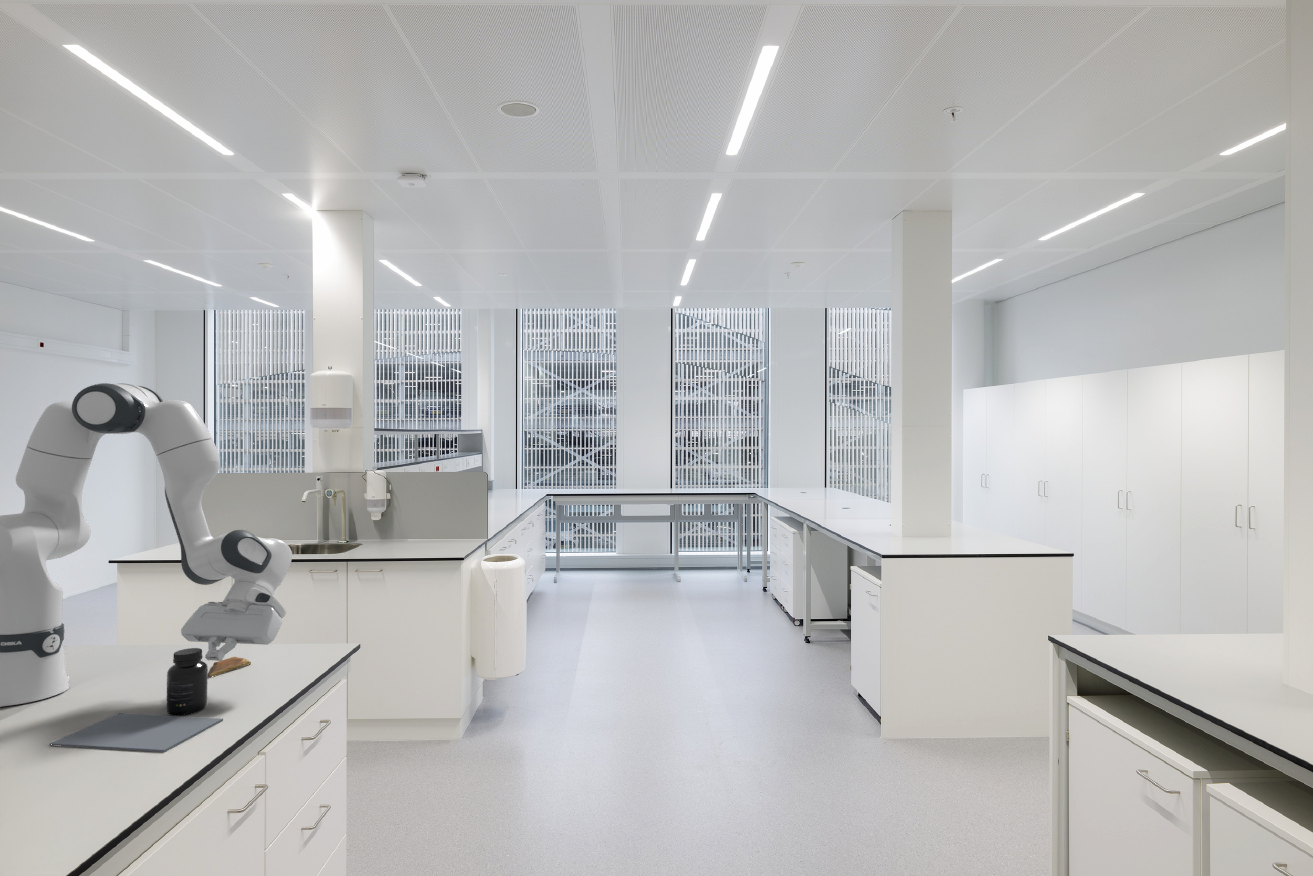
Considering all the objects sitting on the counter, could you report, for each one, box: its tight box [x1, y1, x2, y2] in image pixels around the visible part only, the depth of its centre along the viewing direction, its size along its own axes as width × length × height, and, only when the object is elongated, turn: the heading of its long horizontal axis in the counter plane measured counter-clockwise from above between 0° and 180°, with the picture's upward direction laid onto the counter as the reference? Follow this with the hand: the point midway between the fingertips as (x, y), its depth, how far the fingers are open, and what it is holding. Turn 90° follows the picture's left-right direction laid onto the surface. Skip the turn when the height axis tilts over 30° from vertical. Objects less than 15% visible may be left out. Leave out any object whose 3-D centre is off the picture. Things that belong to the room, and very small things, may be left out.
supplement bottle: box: [165, 647, 209, 717], centre depth 136 cm, size 7×7×12 cm
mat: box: [49, 712, 224, 753], centre depth 125 cm, size 22×14×1 cm, turn 85°
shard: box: [208, 656, 252, 678], centre depth 162 cm, size 11×8×2 cm
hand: (212, 659), depth 143 cm, fingers closed
